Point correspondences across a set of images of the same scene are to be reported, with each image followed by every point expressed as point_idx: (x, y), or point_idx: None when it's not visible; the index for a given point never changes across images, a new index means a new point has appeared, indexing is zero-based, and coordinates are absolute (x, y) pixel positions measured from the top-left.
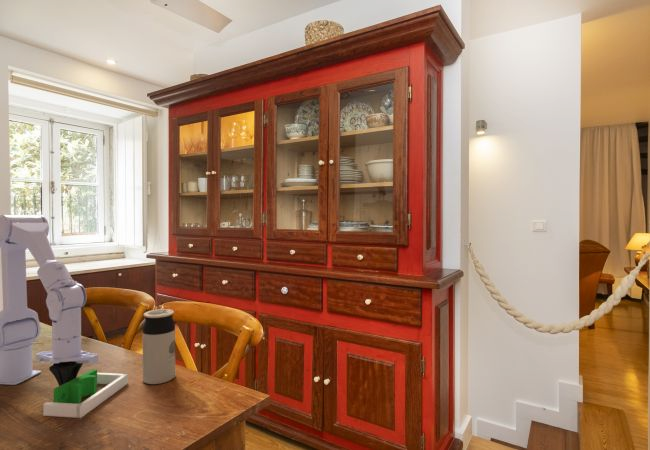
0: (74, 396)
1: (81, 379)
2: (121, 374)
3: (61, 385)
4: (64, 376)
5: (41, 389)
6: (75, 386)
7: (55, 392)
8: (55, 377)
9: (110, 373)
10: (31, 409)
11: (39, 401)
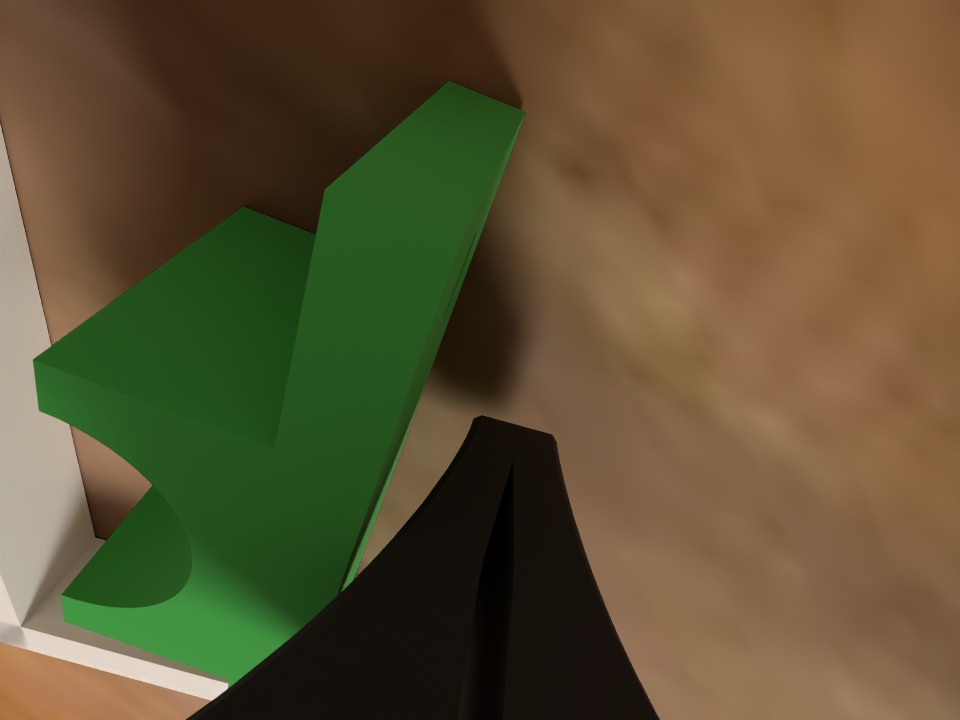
0: (261, 275)
1: (194, 565)
2: (46, 645)
3: (385, 403)
4: (382, 645)
5: (904, 636)
6: (140, 366)
7: (426, 191)
8: (633, 679)
9: (182, 688)
10: (889, 138)
11: (837, 375)
